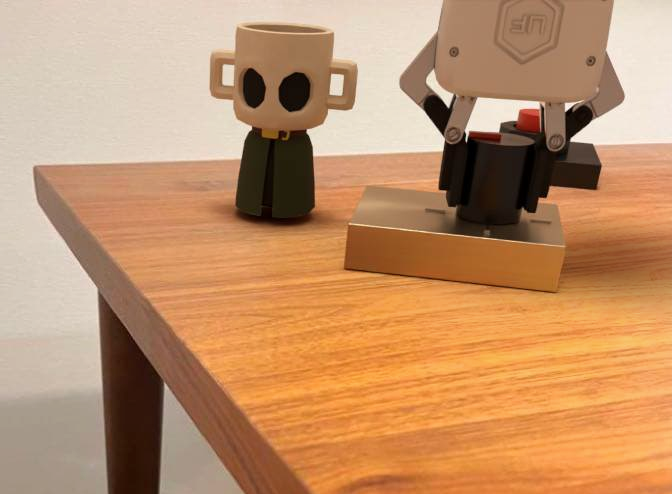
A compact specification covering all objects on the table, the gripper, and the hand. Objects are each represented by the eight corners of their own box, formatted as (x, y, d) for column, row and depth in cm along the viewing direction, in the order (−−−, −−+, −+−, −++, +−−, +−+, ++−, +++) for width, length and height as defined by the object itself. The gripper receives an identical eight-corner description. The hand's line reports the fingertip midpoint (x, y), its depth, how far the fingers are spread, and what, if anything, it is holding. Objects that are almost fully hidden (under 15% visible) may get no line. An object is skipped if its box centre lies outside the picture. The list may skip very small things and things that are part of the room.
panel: (548, 245, 72) (558, 201, 70) (556, 292, 63) (567, 244, 61) (362, 225, 74) (367, 182, 72) (343, 268, 65) (348, 221, 63)
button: (553, 130, 92) (557, 110, 91) (555, 137, 89) (559, 117, 88) (515, 127, 92) (518, 107, 91) (515, 134, 89) (519, 113, 88)
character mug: (194, 218, 74) (197, 25, 66) (218, 196, 79) (223, 17, 72) (336, 234, 72) (354, 38, 65) (349, 210, 78) (367, 28, 71)
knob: (516, 209, 68) (531, 129, 65) (523, 227, 65) (540, 143, 62) (453, 204, 69) (466, 125, 66) (457, 221, 65) (470, 137, 62)
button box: (587, 167, 96) (597, 123, 94) (596, 190, 87) (607, 143, 85) (465, 155, 97) (472, 112, 95) (462, 177, 89) (469, 131, 87)
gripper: (402, -126, 54) (366, 210, 64) (713, -109, 53) (626, 230, 63) (399, -123, 60) (366, 183, 70) (677, -107, 59) (603, 200, 69)
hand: (490, 202), depth 66 cm, fingers closed on knob, 4 cm apart
